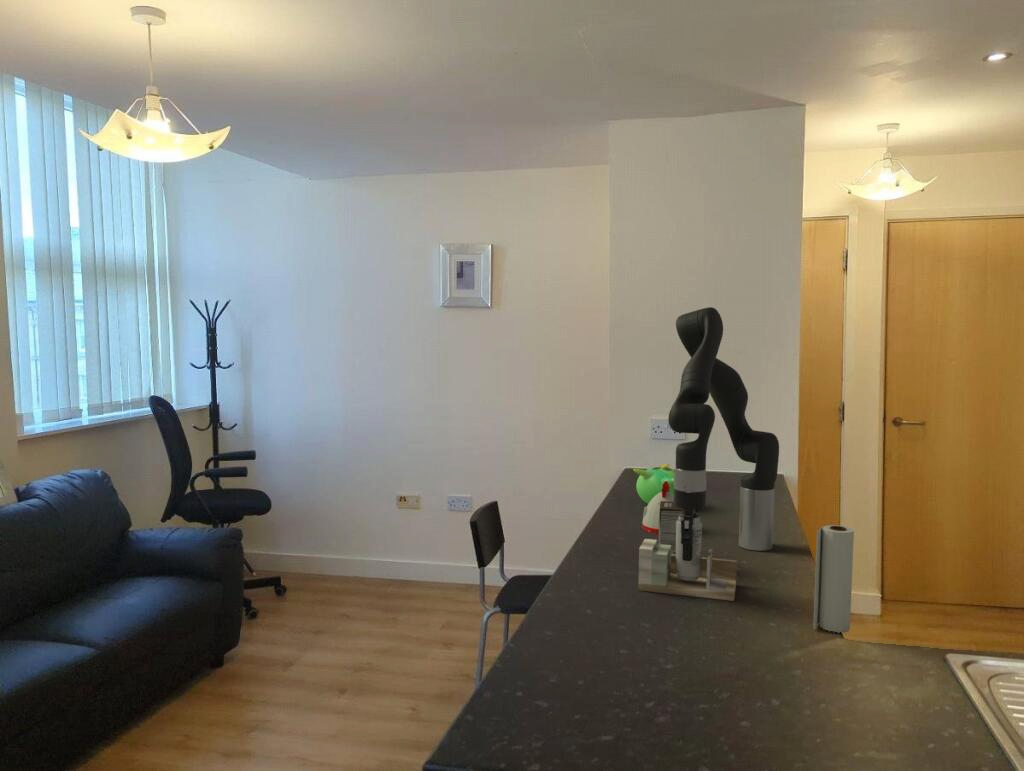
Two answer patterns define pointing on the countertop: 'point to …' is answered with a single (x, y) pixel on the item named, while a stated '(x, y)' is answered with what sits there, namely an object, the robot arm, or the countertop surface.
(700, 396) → the robot arm
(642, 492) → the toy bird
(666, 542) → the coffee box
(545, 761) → the countertop surface
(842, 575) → the paper towel roll
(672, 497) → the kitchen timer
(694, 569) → the energy drink can
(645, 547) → the wooden desk organizer
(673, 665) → the countertop surface
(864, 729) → the countertop surface
